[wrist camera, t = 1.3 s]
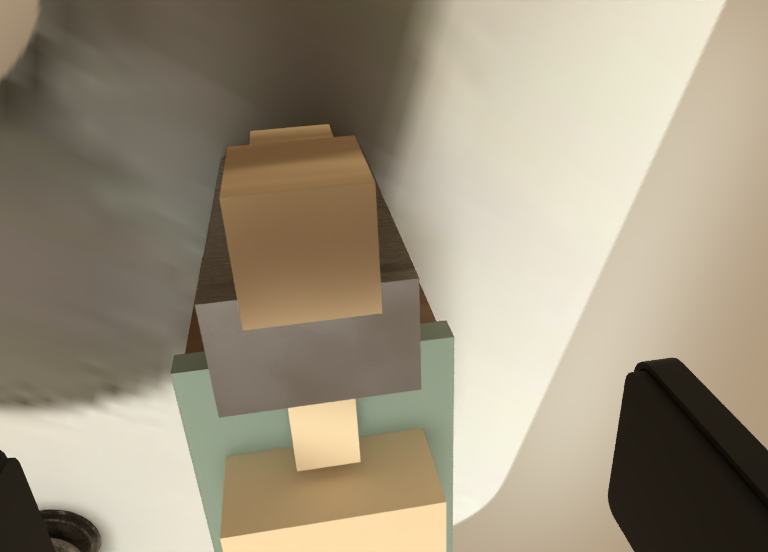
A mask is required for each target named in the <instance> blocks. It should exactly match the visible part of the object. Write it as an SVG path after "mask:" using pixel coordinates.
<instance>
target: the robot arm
mask: <svg viewBox="0 0 768 552" xmlns="http://www.w3.org/2000/svg"><path fill="white" fill-rule="evenodd" d="M608 501H609V506H610V509H611V512H612V514H613V516H614V518H615V520H616V522H617V523H618V524H619V527H620V528H621V530H622V532H623V533H624V535H625V537H626V538H627V540H628V542H629V543H630V545H631V547H632V548H633V550H634V552H768V450H767V449H766V448H765V447H764V446H763V445H762V444H761V443H760V442H759V441H758V440H757V439H756V438H755V437H754V436H753V435H752V434H751V433H750V432H749V431H748V430H747V428H745V426H744V425H743V424H741V422H740V421H739V420H738V419H737V418H736V417H735V416H734V415H733V414H732V413H731V412H730V411H729V410H728V409H727V408H726V407H725V406H724V405H723V404H722V403H721V402H720V401H719V400H718V399H717V398H716V397H715V396H714V395H713V394H712V393H711V392H710V391H709V390H708V388H707V387H706V386H705V385H704V384H703V383H702V382H701V381H700V380H699V379H698V378H697V377H696V376H695V375H694V374H693V373H692V372H691V371H690V370H689V369H688V368H687V367H686V366H685V365H684V364H683V363H682V362H681V361H680V360H678V359H677V358H666V359H659V360H651V361H645V362H640V363H638V364H637V365H636V367H635V370H634V372H631V373H629V374H628V375H627V376H626V380H625V385H624V393H623V398H622V405H621V411H620V418H619V425H618V431H617V438H616V444H615V451H614V457H613V464H612V471H611V477H610V483H609V490H608ZM0 552H56V551H55V548H54V546H53V543H52V541H51V538H50V536H49V533H48V531H47V529H46V526H45V524H44V521H43V519H42V516H41V514H40V511H39V509H38V506H37V504H36V501H35V499H34V497H33V494H32V492H31V489H30V487H29V484H28V482H27V479H26V477H25V474H24V472H23V469H22V467H21V465H20V463H19V461H18V460H17V459H16V458H7V457H6V455H5V453H4V452H2V451H1V450H0Z"/></svg>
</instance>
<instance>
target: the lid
mask: <svg viewBox="0 0 768 552" xmlns="http://www.w3.org/2000/svg"><path fill="white" fill-rule="evenodd" d="M420 343H421V390H414V391H407V392H400V393H393V394H386V395H378V396H371V397H364V398H357V399H355V400H356V412H357V424H358V436H359V448H360V460H361V462H357V463H350V464H344V465H337V466H330V467H324V468H317V469H311V470H304V471H298V472H297V468H296V461H295V454H294V447H293V440H292V434H291V427H290V420H289V413H288V408H285V409H278V410H271V411H264V412H257V413H250V414H242V415H235V416H228V417H221V418H219V416H218V411H217V407H216V402H215V397H214V393H213V388H212V383H211V378H210V374H209V369H208V364H207V360H206V355H205V351H203V352H195V353H187V354H180V355H174V359H173V364H172V369H171V378H172V382H173V386H174V390H175V394H176V398H177V402H178V406H179V410H180V414H181V419H182V423H183V427H184V431H185V435H186V439H187V443H188V447H189V451H190V455H191V459H192V463H193V467H194V471H195V475H196V479H197V483H198V487H199V491H200V495H201V499H202V503H203V507H204V511H205V515H206V519H207V523H208V527H209V531H210V535H211V539H212V543H213V547H214V551H215V552H452V530H453V529H452V528H453V405H454V336H453V334H452V332H451V329H450V327H449V325H448V323H447V321H439V322H431V323H423V324H420Z"/></svg>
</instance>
